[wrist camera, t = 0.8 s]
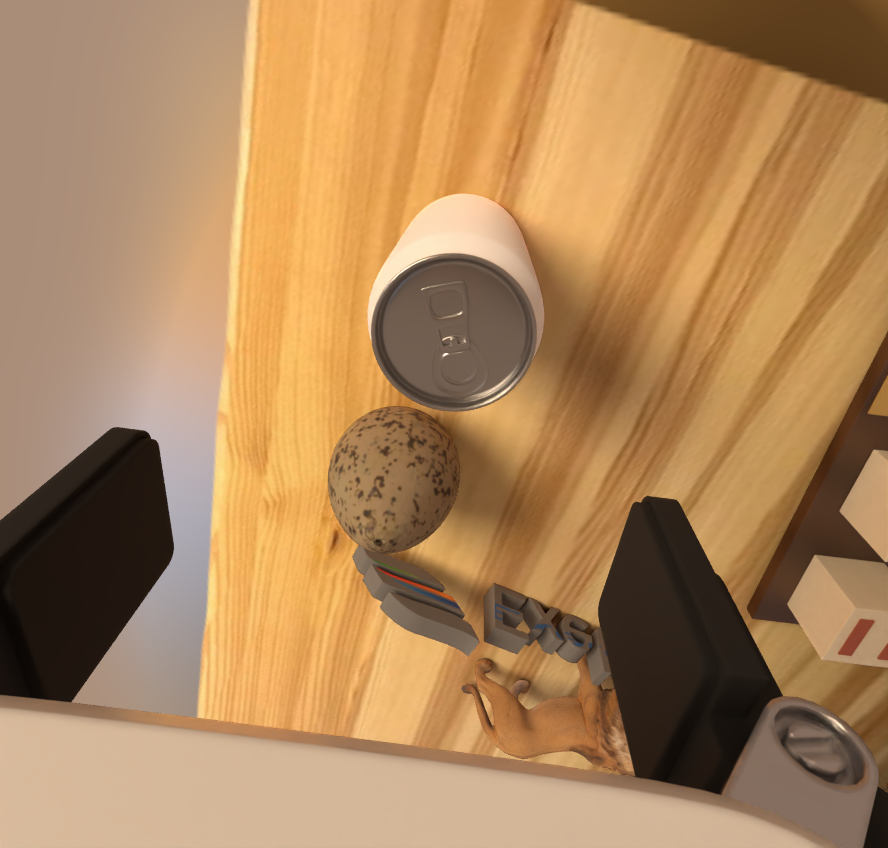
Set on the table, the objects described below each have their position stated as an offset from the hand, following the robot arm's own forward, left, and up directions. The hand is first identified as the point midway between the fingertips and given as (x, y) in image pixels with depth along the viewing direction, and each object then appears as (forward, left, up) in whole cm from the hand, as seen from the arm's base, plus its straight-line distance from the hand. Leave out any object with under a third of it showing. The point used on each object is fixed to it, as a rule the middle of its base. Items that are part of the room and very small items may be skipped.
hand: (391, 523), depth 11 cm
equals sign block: (+17, +28, -20) cm, 38 cm away
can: (-1, +1, -21) cm, 21 cm away
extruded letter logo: (+23, +8, -21) cm, 33 cm away
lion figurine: (+29, +12, -21) cm, 38 cm away
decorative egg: (+10, -2, -21) cm, 24 cm away
